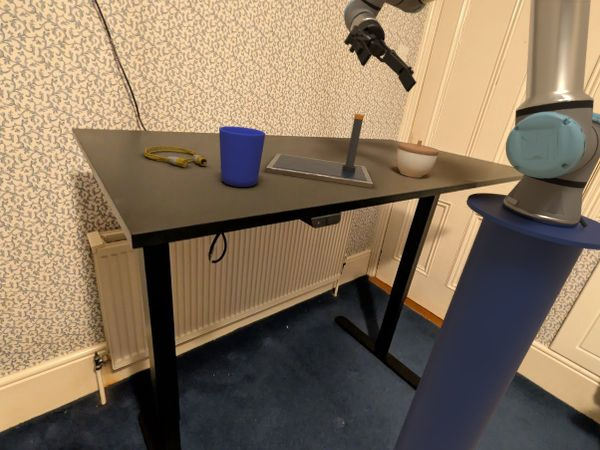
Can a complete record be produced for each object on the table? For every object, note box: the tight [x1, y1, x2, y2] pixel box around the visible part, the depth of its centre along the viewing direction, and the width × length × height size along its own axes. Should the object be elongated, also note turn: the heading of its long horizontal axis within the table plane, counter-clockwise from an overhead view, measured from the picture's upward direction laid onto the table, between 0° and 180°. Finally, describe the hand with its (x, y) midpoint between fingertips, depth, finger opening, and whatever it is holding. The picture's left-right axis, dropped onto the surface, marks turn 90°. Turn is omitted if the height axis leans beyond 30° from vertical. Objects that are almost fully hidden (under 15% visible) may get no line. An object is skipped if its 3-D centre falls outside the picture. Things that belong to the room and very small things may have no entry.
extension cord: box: [144, 145, 208, 168], centre depth 72 cm, size 12×16×2 cm
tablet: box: [265, 152, 374, 189], centre depth 80 cm, size 24×17×1 cm
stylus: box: [342, 113, 365, 172], centre depth 77 cm, size 3×3×13 cm
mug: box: [218, 125, 266, 188], centre depth 62 cm, size 8×12×10 cm
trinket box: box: [395, 139, 440, 179], centre depth 88 cm, size 11×11×9 cm
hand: (389, 74), depth 73 cm, fingers open, 13 cm apart
